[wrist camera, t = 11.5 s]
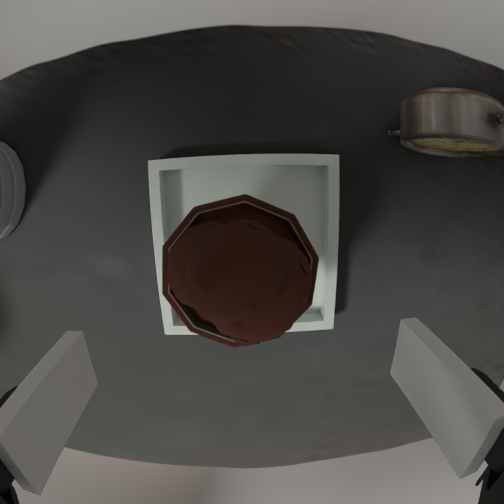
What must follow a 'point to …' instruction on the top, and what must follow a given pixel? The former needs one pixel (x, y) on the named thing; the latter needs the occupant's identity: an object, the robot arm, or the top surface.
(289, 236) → the ice cream bowl
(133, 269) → the top surface
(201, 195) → the tray
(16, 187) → the soap bottle
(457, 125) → the alarm clock
